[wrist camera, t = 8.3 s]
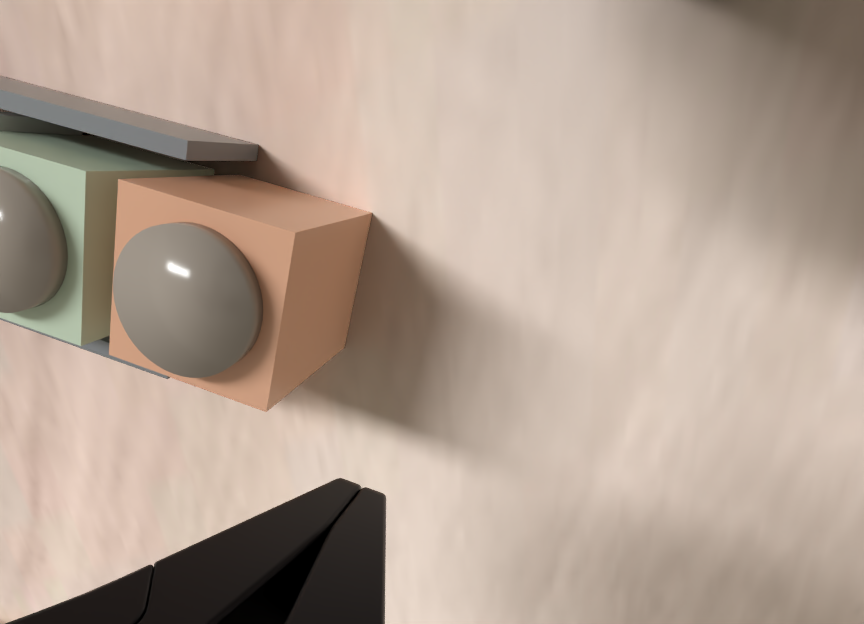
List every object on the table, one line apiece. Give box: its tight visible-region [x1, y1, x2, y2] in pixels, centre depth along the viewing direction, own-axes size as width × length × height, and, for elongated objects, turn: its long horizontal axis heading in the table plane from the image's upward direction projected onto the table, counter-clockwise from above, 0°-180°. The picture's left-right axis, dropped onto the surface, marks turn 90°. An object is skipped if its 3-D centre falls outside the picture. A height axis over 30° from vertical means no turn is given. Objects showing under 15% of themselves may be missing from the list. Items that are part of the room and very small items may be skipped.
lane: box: [0, 76, 259, 379], centre depth 21 cm, size 16×8×4 cm, turn 76°
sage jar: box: [0, 131, 214, 346], centre depth 19 cm, size 6×6×7 cm
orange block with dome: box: [109, 175, 372, 412], centre depth 18 cm, size 6×6×7 cm
